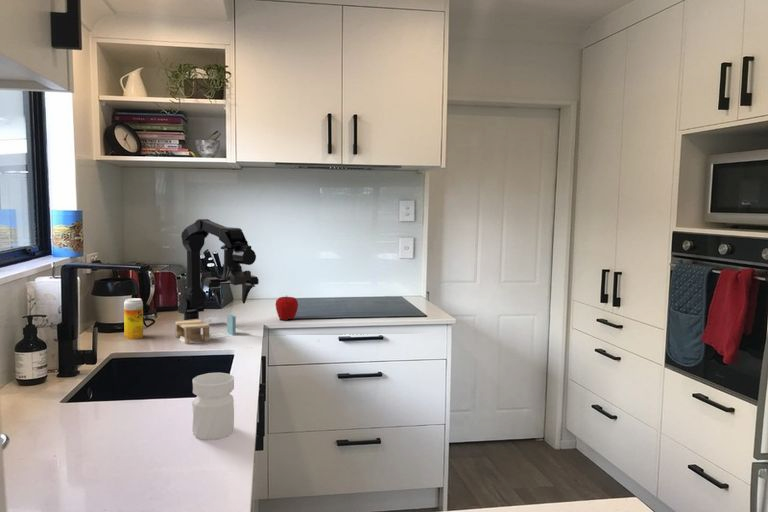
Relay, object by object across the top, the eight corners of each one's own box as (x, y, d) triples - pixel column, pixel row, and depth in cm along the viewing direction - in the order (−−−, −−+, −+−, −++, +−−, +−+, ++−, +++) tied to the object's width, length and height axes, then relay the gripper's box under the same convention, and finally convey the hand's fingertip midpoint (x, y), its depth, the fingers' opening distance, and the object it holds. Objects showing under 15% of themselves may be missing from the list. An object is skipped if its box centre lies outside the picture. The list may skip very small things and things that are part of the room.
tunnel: (175, 340, 193) (175, 321, 192) (197, 338, 198) (197, 318, 197) (186, 348, 184) (186, 327, 183) (209, 344, 189) (209, 324, 188)
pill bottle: (214, 420, 123) (214, 370, 122) (242, 429, 119) (242, 377, 118) (183, 434, 116) (183, 380, 115) (211, 444, 112) (211, 388, 110)
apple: (281, 323, 227) (281, 297, 226) (271, 319, 234) (271, 294, 233) (302, 320, 233) (302, 295, 232) (291, 316, 240) (291, 292, 239)
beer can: (135, 343, 188) (135, 301, 187) (120, 342, 189) (120, 300, 188) (146, 339, 194) (146, 298, 193) (132, 338, 195) (131, 297, 194)
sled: (178, 341, 191) (177, 319, 190) (229, 334, 203) (229, 313, 202) (183, 344, 186) (183, 322, 185) (236, 337, 198) (236, 316, 197)
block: (183, 338, 191) (183, 326, 191) (196, 336, 194) (196, 324, 194) (188, 341, 188) (187, 328, 187) (200, 339, 190) (200, 327, 190)
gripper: (214, 265, 183) (214, 310, 185) (265, 263, 195) (264, 306, 196) (203, 262, 192) (203, 305, 194) (252, 260, 203) (252, 301, 205)
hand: (231, 304), depth 197 cm, fingers open, 9 cm apart
